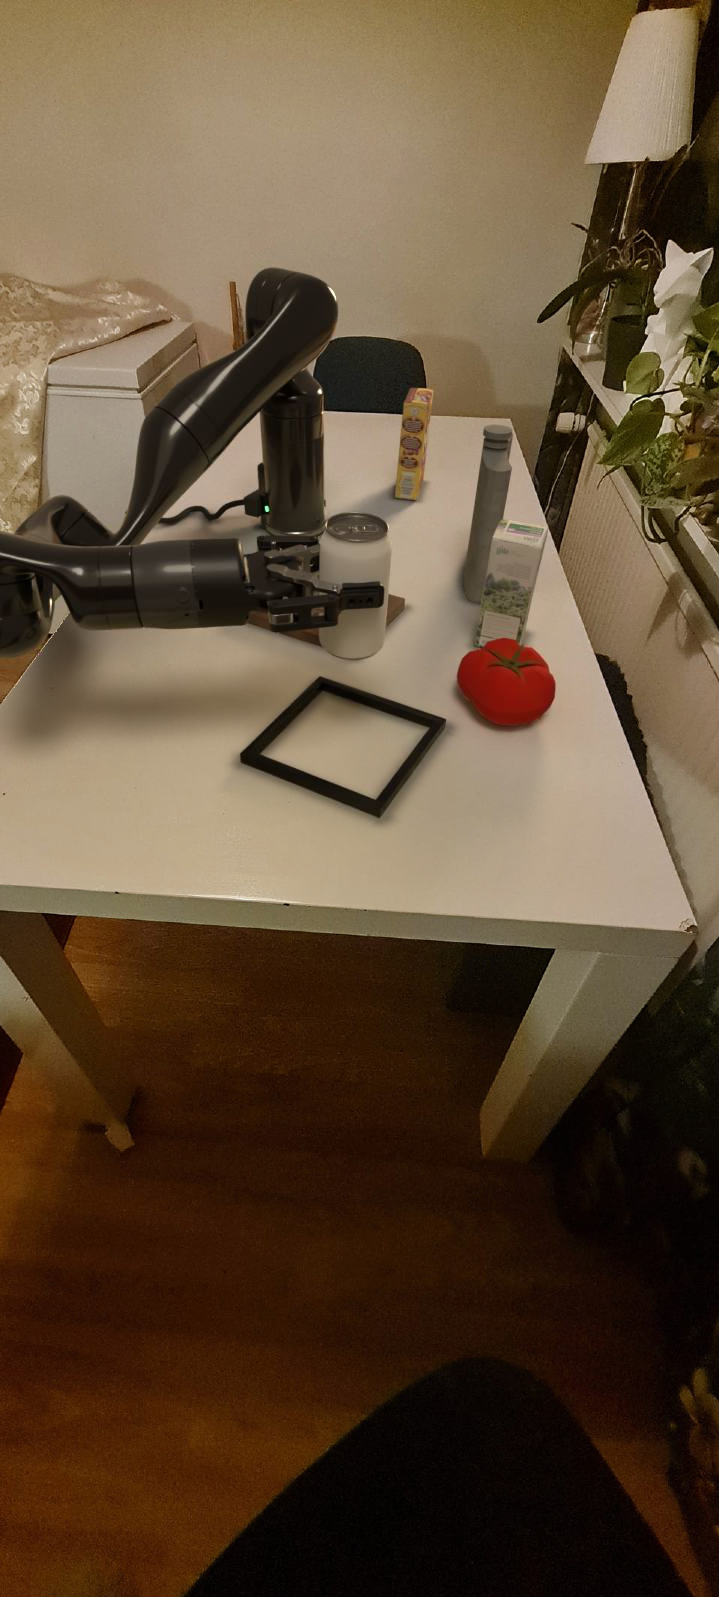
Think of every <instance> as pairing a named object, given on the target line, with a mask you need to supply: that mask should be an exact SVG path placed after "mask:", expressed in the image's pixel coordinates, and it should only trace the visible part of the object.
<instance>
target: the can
mask: <svg viewBox="0 0 719 1597" xmlns="http://www.w3.org/2000/svg"><path fill="white" fill-rule="evenodd" d="M389 530H390V526H389V524H388V522H387V521H386V520H385V519H384V518H382V517H380V516H378V515H375V514H372V513H368V512H363V511H346V512H340V513H336V514H333V515H331V516H330V517H328V518H327V519H326V520H325V529H324V531H323V532H322V535H321V537H320V539H319V543H320V566H319V580H321V581H325V582H330V583H335V584H339V585H341V586H342V583H366V582H376V581H379V582H381V583H382V584H383V586H384V589H385V591H384V603H383V605H382V606H381V607H379V608H365V609H347V610H343V611H342V613H341V614H340V615H339V616H338V624H337V625H336V626H332V627H323V628H319V640H320V643H321V645H322V648H323V650H325V651H326V652H327V653H328V654H329V655H331V656H333V657H335V658H337V659H341V660H346V661H360V660H365V659H369V658H371V657H373V656H375V655H377V653H378V652H380V651H381V649H383V647H384V644H385V638H386V629H387V626H386V617H387V605H388V594H390V593H389V592H390V580H391V579H390V578H391V567H392V554H393V543H392V540H391V537H390V534H389ZM319 595H327V594H325V593H320V592H319ZM323 615H324V613H319V616H323Z"/></svg>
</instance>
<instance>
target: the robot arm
mask: <svg viewBox="0 0 719 1597" xmlns="http://www.w3.org/2000/svg"><path fill="white" fill-rule="evenodd" d="M245 298H246V299H245V306H244V307H245V310H244V312H245V313H244V314H245V315H244V317H245V318H244V320H245V333H246V342H245V343H244V344H243V345H242V346H240V347H239V348H237V349H236V350H234V351H232V352H230V353H228V354H226V355H225V356H222V357H219V358H218V359H217V360H214V361H212V362H210V363H208V364H206V365H204V366H202V367H199V368H198V369H196V370H194V371H193V372H190V373H189V374H187V375H186V376H184V377H183V378H181V379H180V380H179V381H177V383H176V384H174V385H173V386H172V387H171V388H170V389H169V390H168V391H167V392H166V393H165V395H164V396H163V397H161V399H160V400H159V401H158V402H157V403H156V404H155V405H154V407H153V408H152V409H151V410H150V411H149V412H148V413H147V414H146V416H145V417H144V419H143V420H142V423H141V426H140V430H139V435H138V439H137V440H138V441H137V449H136V458H135V468H134V478H133V483H132V489H131V494H130V497H129V501H128V506H127V509H126V511H125V512H124V517H123V520H122V523H121V524H120V527H119V528H118V530H117V531H116V532H113V531H112V530H110V529H109V528H108V527H107V525H105V524H104V523H103V522H102V521H100V520H99V519H98V518H97V517H96V516H95V515H94V514H93V513H92V512H91V511H89V509H88V508H87V507H86V506H84V505H83V504H82V503H81V502H80V501H78V500H77V499H76V498H74V497H72V496H70V495H67V494H59V495H55V496H52V497H51V498H49V499H47V500H46V501H44V502H43V503H42V504H41V505H39V506H38V507H37V508H36V509H35V510H34V511H33V512H31V514H29V516H27V517H26V518H25V520H24V521H23V522H22V523H21V524H20V525H19V526H18V527H17V528H16V530H15V531H14V533H12V532H8V531H3V530H0V660H9V659H15V658H20V657H21V656H24V655H27V654H29V653H31V652H32V651H34V650H35V649H36V648H38V647H39V646H40V645H41V644H42V643H44V641H45V640H46V638H47V637H48V635H49V633H50V631H51V628H52V624H53V620H54V615H55V614H54V613H55V608H56V607H55V606H56V601H57V600H58V599H59V598H60V597H61V596H62V598H63V600H64V604H65V605H66V607H67V609H68V612H69V614H70V616H71V618H72V620H73V621H74V623H75V624H76V626H78V627H79V628H80V629H82V630H85V631H91V632H101V631H102V632H103V631H119V630H120V631H121V630H122V631H123V630H139V629H157V630H158V629H159V630H188V629H203V628H204V629H207V628H225V627H238V626H239V627H240V626H241V627H242V626H245V625H247V624H248V623H247V622H248V619H249V615H248V613H249V612H251V611H256V612H263V613H268V615H269V622H270V630H269V631H271V632H272V633H278V634H280V633H279V632H288V631H297V630H306V629H314V628H323V627H332V626H336V625H337V624H338V616H339V615H340V614H341V613H342V611H343V610H347V609H365V608H379V607H381V606H382V605H383V603H384V591H385V589H384V586H383V584H382V583H381V582H379V581H376V582H366V583H342V586H341V585H339V584H335V583H330V582H325V581H321V580H319V578H318V577H317V575H319V566H320V537H319V535H320V534H323V533H324V531H325V522H326V520H325V519H326V518H325V517H326V516H325V508H326V507H327V500H326V499H325V399H324V398H325V395H324V394H325V393H324V390H323V387H322V386H321V384H320V383H319V382H318V381H317V380H316V379H315V378H314V376H313V375H312V373H311V372H310V370H309V368H308V367H309V366H310V365H311V364H312V363H314V362H315V360H317V359H318V358H319V357H320V356H321V355H322V354H323V352H324V351H325V350H326V349H327V347H328V345H329V344H330V342H331V341H332V339H333V336H334V335H335V332H336V329H337V324H338V320H339V319H338V318H339V304H338V303H339V302H338V299H337V296H336V294H335V292H334V290H333V289H332V288H331V286H330V285H329V284H328V283H327V282H325V281H324V280H323V279H321V278H319V277H316V276H313V275H312V274H309V273H305V272H300V271H295V270H291V269H286V268H281V267H276V266H275V267H274V266H273V267H272V266H271V267H266V268H263V269H262V270H260V271H258V272H257V274H255V275H254V277H253V278H252V280H251V282H250V284H249V286H248V289H247V294H246V297H245ZM257 415H259V424H260V427H259V428H260V440H261V456H262V461H261V462H259V464H257V467H256V468H257V469H256V470H257V483H258V488H257V489H256V490H254V491H252V492H250V493H248V494H247V495H246V496H243V498H242V499H236V500H232V501H229V502H227V503H224V504H223V505H221V507H219V508H218V510H217V511H216V512H214V513H211V512H210V511H209V509H208V508H206V507H205V506H203V505H191V506H188V507H187V508H185V509H183V510H182V511H180V512H179V513H178V514H177V515H174V516H171V517H170V516H169V517H164V516H165V515H166V514H167V512H168V511H170V509H171V508H172V507H174V505H175V504H176V503H177V501H179V499H180V498H181V497H183V495H184V494H185V493H186V492H187V491H189V489H190V488H191V487H192V486H193V485H194V484H196V482H197V481H198V480H199V479H200V478H201V477H202V476H203V475H204V474H205V473H206V472H207V471H208V470H209V468H211V466H212V465H213V464H214V463H215V462H216V461H217V460H218V458H220V456H221V455H222V454H223V453H224V452H225V451H226V450H227V448H228V447H229V446H230V445H231V444H232V443H233V441H234V440H235V439H236V438H237V436H238V435H239V434H240V433H241V432H242V431H243V430H244V429H245V428H246V427H247V426H248V424H250V423H251V421H252V420H253V419H254V418H256V416H257ZM241 506H242V507H244V508H243V509H244V515H245V516H249V517H253V518H257V519H258V518H260V527H261V528H262V529H266V531H267V532H268V533H269V534H270V535H265V534H264V535H258V536H256V551H255V552H251V553H247V554H244V549H243V548H244V547H243V544H242V541H241V540H240V539H238V538H236V537H227V538H225V537H223V538H205V539H204V538H201V539H200V538H198V539H197V538H196V539H174V540H173V539H172V540H158V541H157V540H156V541H151V542H146V543H143V541H144V540H145V539H146V538H147V536H149V534H150V533H151V532H152V530H153V529H154V528H155V527H156V525H158V524H161V525H162V524H163V525H164V524H165V525H170V524H176V523H178V522H180V521H181V520H182V519H184V518H185V517H187V516H188V515H189V514H192V513H197V512H199V513H200V512H201V513H202V514H203V515H204V517H205V518H207V519H208V520H210V521H215V520H218V519H220V518H221V517H222V516H223V515H224V513H226V512H227V511H228V510H230V509H232V508H236V507H241ZM318 592H320V593H325V594H327V595H318ZM315 612H319V613H324V615H323V616H314V617H311V615H313V614H314V613H315ZM295 613H296V614H295Z"/></svg>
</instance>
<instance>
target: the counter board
mask: <svg viewBox="0 0 719 1597" xmlns="http://www.w3.org/2000/svg"><path fill="white" fill-rule="evenodd" d="M317 577H318V578H319V575H317ZM318 595H319V592H318ZM405 604H406V598H404V597H401V596H397V595H395V594H391V593H388V605H387V617H386V627H388V626H389V624H391V622H392V621H393V620H395V619H396V618H397V617H398V615H399V614H401V612H403V610H405V607H406V606H405ZM295 614H296V613H295ZM248 615H249V619H248V622H247V623H246V624H250V625H254V626H257V627H260V628H263V629H266V630H269V631H271V630H270V622H269V615H268V613H263V612H256V611H251V612H249V613H248ZM314 616H319V612H315V613H314V614H313V615H311V617H314ZM278 634H282V635H284V636H288V637H291V638H294V639H297V640H299V641H303V642H306V643H309V644H312V645H315V646H319V647H322V645H321V643H320V640H319V628H314V629H306V630H297V631H288V632H279V633H278ZM322 648H323V647H322Z"/></svg>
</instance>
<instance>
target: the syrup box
mask: <svg viewBox="0 0 719 1597" xmlns="http://www.w3.org/2000/svg"><path fill="white" fill-rule="evenodd" d="M548 533H549V527H548V526H545V525H539V524H533V523H527V522H522V521H516V520H509V519H505V518H503V519H501V521H500V523H499V525H498V526H497V529H496V531H495V533H494V535H493V539H492V543H491V549H490V555H489V561H488V567H487V573H486V579H485V584H484V590H483V596H482V602H481V603H480V610H479V616H478V621H477V626H476V632H475V638H474V646H475V647H480V648H483V646H484V645H485V644H486V643H487V642H488V641H492V640H496V639H500V638H509V639H515V640H516V641H517V642H518V644H519V645H520V646H522V643H523V640H524V636H525V634H526V629H527V625H528V619H529V614H530V610H531V605H532V601H533V597H534V592H535V588H536V584H537V580H538V575H539V572H540V567H541V564H542V559H543V555H544V552H545V551H544V549H545V547H546V542H547V538H548Z"/></svg>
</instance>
